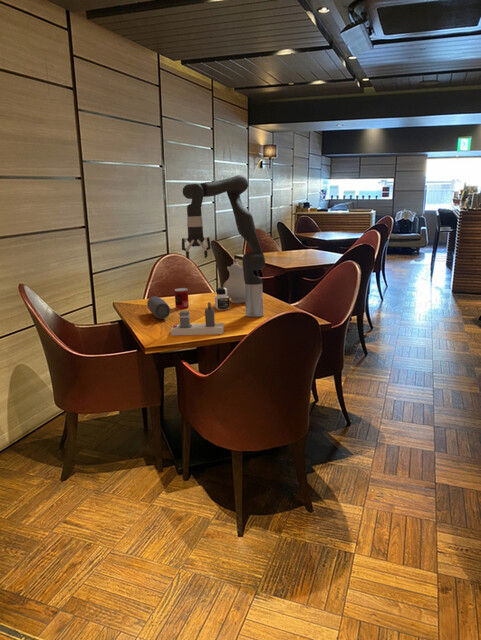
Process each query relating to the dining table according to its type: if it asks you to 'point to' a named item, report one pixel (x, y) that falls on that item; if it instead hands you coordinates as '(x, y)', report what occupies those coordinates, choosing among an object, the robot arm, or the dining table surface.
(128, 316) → the dining table surface
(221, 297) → the medicine bottle
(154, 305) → the bluetooth speaker
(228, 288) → the ceramic pitcher
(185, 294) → the canned food
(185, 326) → the plug
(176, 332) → the strip
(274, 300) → the dining table surface
